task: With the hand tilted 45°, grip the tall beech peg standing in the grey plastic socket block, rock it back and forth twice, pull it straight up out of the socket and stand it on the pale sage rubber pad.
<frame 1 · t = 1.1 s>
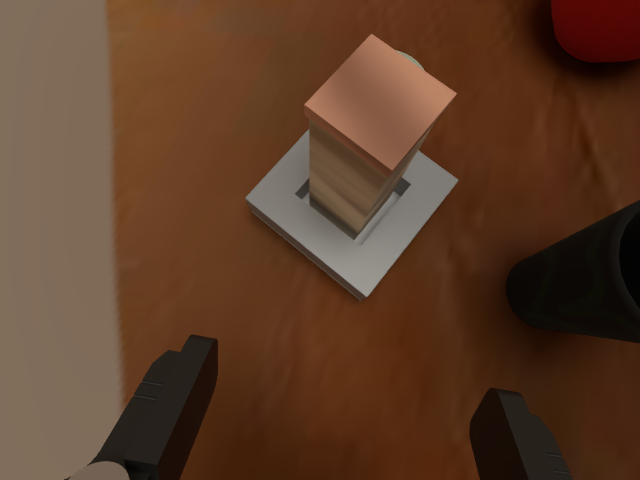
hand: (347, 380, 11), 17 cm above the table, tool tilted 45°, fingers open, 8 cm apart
ceramic cup: (607, 30, 36), on the table
cup: (540, 292, 30), on the table
plug: (349, 201, 30), point 1 cm above the table, touching socket block
socket block: (348, 204, 31), on the table
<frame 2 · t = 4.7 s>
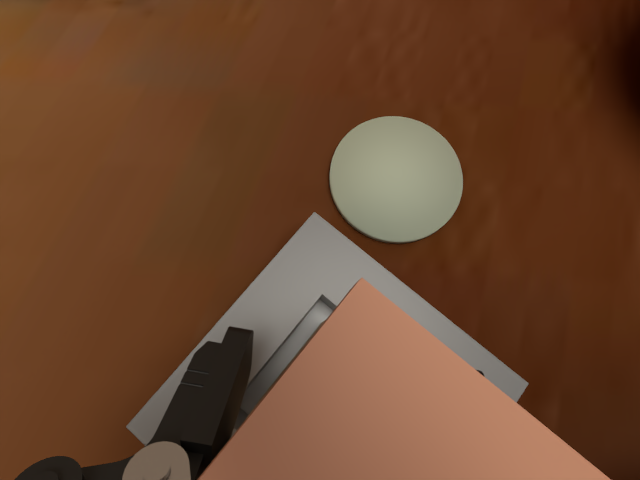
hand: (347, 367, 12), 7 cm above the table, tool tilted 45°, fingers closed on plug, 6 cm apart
pad: (394, 180, 20), on the table
plug: (328, 393, 17), point 1 cm above the table, touching gripper, socket block
socket block: (328, 391, 18), on the table
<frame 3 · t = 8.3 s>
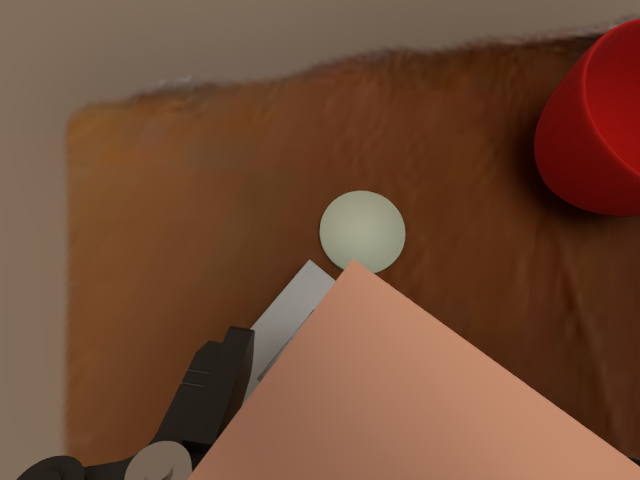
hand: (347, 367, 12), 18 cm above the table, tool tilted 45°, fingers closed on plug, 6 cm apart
ceramic cup: (592, 164, 34), on the table
pad: (361, 233, 32), on the table
plug: (325, 410, 17), point 12 cm above the table, touching gripper
socket block: (317, 367, 29), on the table
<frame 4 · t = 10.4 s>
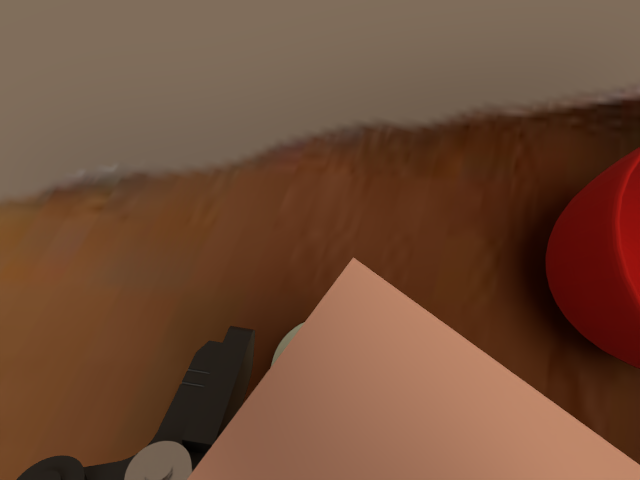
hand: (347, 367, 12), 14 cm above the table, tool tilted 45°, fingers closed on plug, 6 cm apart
ceramic cup: (620, 273, 27), on the table
plug: (325, 410, 17), point 8 cm above the table, touching gripper
when the fingers open (8 cm above the table, at t = 12.0 s): plug stays where it is, resting on pad.
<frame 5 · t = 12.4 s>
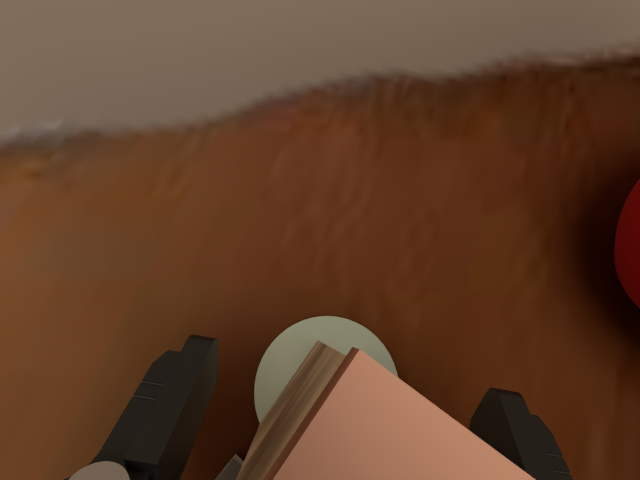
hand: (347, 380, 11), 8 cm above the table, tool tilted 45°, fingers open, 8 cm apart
pad: (326, 388, 19), on the table
plug: (328, 408, 18), point 1 cm above the table, touching pad
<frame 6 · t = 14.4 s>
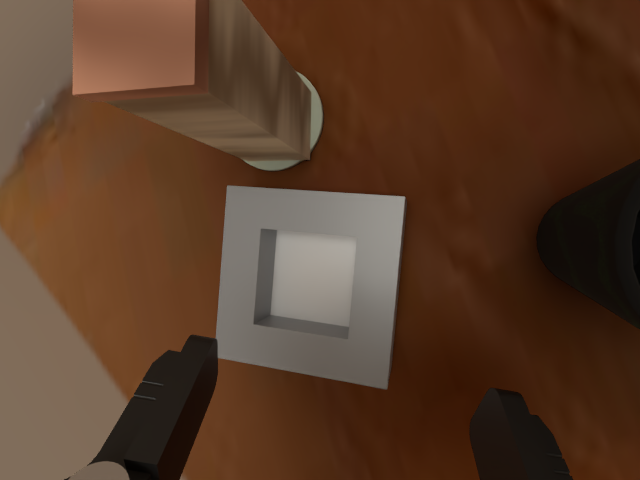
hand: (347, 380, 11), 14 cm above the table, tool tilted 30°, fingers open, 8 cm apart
pad: (275, 121, 27), on the table
cup: (588, 239, 22), on the table
plug: (279, 127, 26), point 1 cm above the table, touching pad
socket block: (317, 276, 26), on the table
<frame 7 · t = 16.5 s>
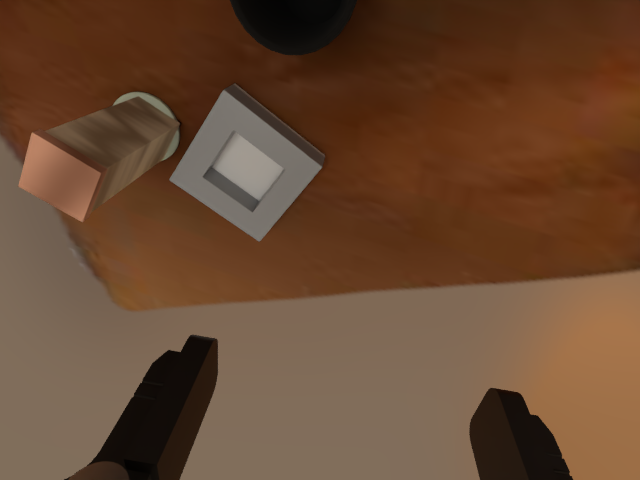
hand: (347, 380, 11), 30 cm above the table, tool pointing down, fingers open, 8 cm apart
pad: (146, 127, 39), on the table
plug: (151, 128, 39), point 1 cm above the table, touching pad
socket block: (252, 161, 40), on the table
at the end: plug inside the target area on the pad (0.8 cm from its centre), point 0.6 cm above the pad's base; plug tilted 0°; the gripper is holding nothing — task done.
